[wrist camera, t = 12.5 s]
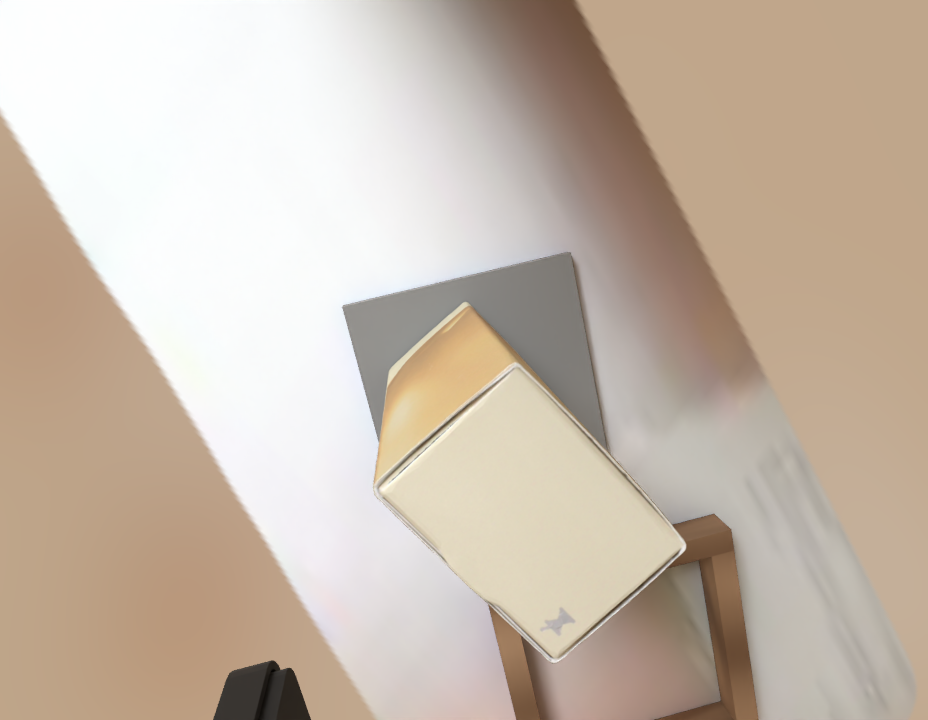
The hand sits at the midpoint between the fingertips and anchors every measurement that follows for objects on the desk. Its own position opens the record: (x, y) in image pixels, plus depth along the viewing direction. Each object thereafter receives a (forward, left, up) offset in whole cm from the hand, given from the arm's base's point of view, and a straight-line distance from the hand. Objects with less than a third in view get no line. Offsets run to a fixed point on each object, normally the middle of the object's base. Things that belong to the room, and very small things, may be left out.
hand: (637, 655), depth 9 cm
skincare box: (+1, 0, -18) cm, 18 cm away
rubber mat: (+1, 0, -18) cm, 18 cm away
